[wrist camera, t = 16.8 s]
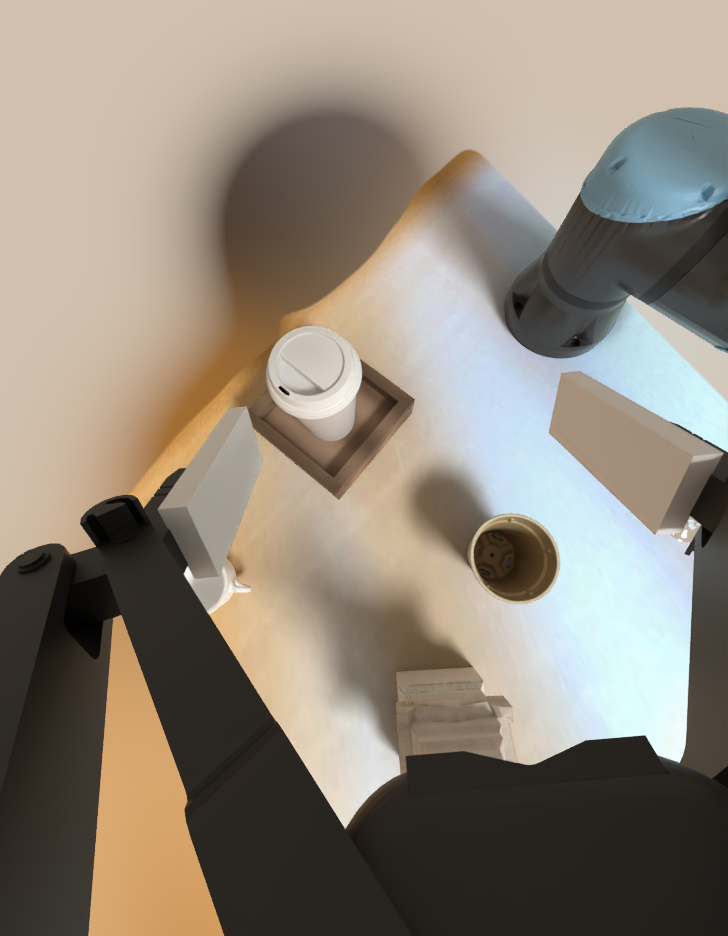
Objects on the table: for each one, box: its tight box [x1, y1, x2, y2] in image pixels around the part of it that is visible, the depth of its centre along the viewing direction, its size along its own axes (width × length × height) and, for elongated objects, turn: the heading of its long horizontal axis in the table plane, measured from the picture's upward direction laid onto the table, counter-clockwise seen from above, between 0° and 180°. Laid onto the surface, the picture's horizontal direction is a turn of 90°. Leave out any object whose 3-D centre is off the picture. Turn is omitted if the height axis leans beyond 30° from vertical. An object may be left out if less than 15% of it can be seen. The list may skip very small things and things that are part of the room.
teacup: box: [184, 558, 252, 614], centre depth 44 cm, size 10×8×5 cm
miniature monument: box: [395, 667, 518, 774], centre depth 28 cm, size 10×10×30 cm
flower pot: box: [467, 514, 560, 604], centre depth 42 cm, size 9×9×9 cm
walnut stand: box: [248, 359, 415, 499], centre depth 48 cm, size 16×16×5 cm
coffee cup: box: [266, 326, 362, 441], centre depth 40 cm, size 10×10×15 cm
